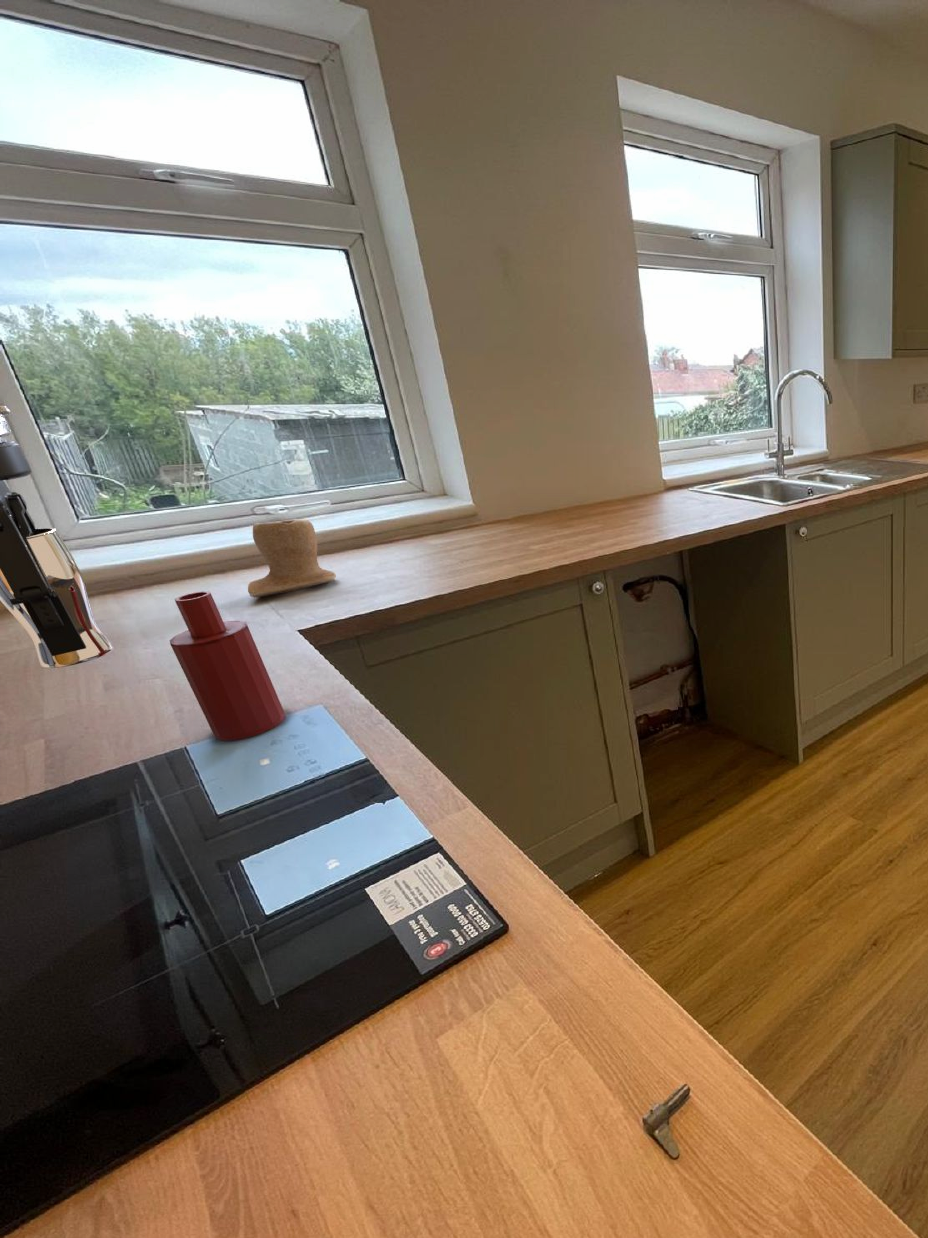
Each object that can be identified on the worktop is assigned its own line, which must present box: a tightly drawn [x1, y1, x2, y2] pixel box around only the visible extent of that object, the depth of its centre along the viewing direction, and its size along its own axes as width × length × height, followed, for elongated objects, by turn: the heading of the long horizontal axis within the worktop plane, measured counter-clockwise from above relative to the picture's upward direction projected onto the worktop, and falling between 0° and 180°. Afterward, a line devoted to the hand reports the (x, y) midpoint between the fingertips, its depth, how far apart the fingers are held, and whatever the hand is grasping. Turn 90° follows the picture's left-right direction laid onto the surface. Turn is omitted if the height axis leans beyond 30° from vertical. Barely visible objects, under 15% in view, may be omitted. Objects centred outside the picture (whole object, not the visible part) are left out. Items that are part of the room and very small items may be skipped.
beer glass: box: [0, 527, 114, 669], centre depth 77 cm, size 7×7×15 cm
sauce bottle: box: [169, 590, 286, 742], centre depth 88 cm, size 8×8×19 cm
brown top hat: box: [247, 518, 337, 598], centre depth 144 cm, size 15×12×15 cm
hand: (70, 643), depth 80 cm, fingers closed on beer glass, 6 cm apart
